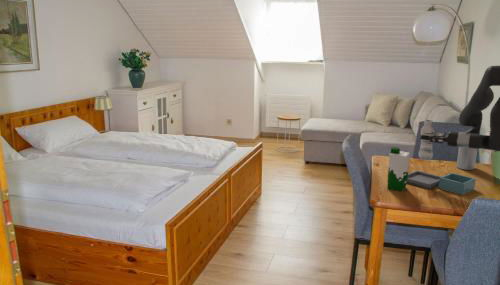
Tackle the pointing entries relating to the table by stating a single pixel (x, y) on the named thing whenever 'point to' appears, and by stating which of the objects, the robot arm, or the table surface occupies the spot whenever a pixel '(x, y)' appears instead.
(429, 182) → the tray
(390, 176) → the milk carton
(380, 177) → the table surface
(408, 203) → the table surface
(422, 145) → the plastic bottle
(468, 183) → the teal open box
